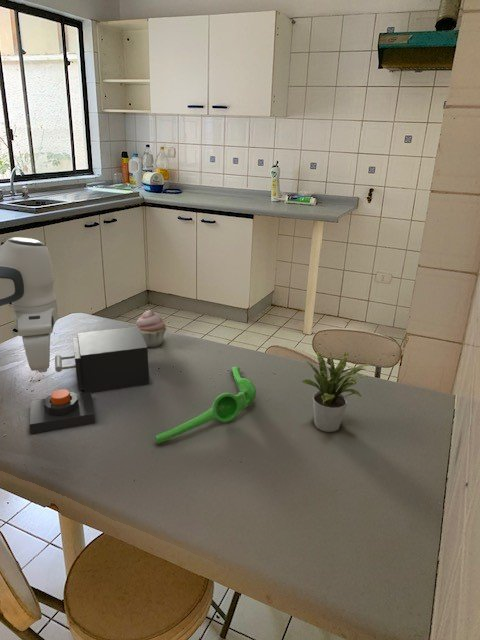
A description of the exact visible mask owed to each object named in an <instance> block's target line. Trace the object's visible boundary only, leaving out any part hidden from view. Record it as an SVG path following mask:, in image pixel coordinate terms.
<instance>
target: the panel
mask: <svg viewBox="0 0 480 640" xmlns="http://www.w3.org/2000/svg"><path fill="white" fill-rule="evenodd" d="M69 392H70V402H68V403H66V404H64V405H53V404H52V401H51V394H49V395H47V396H46V397H45V398H40V399H33V400H30V409H29V424H28V425H29V431H30V434H31V435H32V434H39V433H44V432H51V431H55V430H56V431H57V430H61V429H62V430H63V429H66V428H67V429H68V428H73V427H74V428H75V427H79V426H86V425H90V424H95V423H96V420H95V419H96V418H95V417H96V416H95V411H94V403H93V397H92V393H91V392H85V393H84V392H79V393H75V392H74V391H69Z"/></svg>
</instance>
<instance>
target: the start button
mask: <svg viewBox="0 0 480 640" xmlns="http://www.w3.org/2000/svg"><path fill="white" fill-rule="evenodd" d="M70 392H71V391H70V390H68V389H63V388H62V389H56V390H54V391H53V392H51V394H50V395H51V401H52V404H53V405H64V404H66V403H68V402H70Z"/></svg>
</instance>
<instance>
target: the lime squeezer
mask: <svg viewBox="0 0 480 640" xmlns="http://www.w3.org/2000/svg"><path fill="white" fill-rule="evenodd" d="M231 371H232V375H233V379H234V382H235V384H236V386H237V388H238V389H239V392H238V393H237V394H233V393H231V392H223V393H221V394H219V395H218V396H217V397H215V399H214V400H213V403H212V405H211V407H210V408H209V409H208V410H206V411H203V412H202V413H201V414H199V415H197V416H195V417H193V418H192V419H189V420H188V421H186V422H184V423H182V424H180V425H177V426H174V427H173V428H170V429H167V430H166V431H163V432H161V433H157V434H156V435H154V438H155V441H156V443H157V444H162V443H163V442H166V441H168V440H170V439H173V438H176V437H177V436H180V435H182V434H184V433H186V432H188V431H191V430H193V429H195V428H198V427H200V426H202V425H204V424H206V423H208V422H211V421H214V420H216V421H218V422H220V423H224V424H225V423H229V422H232V421H233V420H234V419H236V418H237V416H238V415H239V413H240V412H241V411H242V410H244V409H246V408H248V406H249V405H251V404H252V403H253V402H254V401H255V399H256V396H257V389H256V386H255V384H254V383H253V381H251V380H250V379H248V378H244V377H243V378H242V376H241V374H240V371H241V370H240V367H239V366H232V367H231Z"/></svg>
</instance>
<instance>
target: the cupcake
mask: <svg viewBox="0 0 480 640" xmlns="http://www.w3.org/2000/svg"><path fill="white" fill-rule="evenodd" d="M133 327H139V329H140V331H141V334H142V336H143V338H144V340H145V343H146V345H147V347H148V348H155V347H156V348H157V347H159V346H161V344H162V343H163V341H164V337H165V333H166V331H167V329H168V328H167V327H168V325H167V324H166V323H165V320H164V319H163V318H162V317H161V315H160V314H158V313H157V312H155V311H153V310H152V309H148V310H146V311H143V314H142V315H141V316H139V318H137V321H136V324H135V325H134V326H133Z"/></svg>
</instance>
